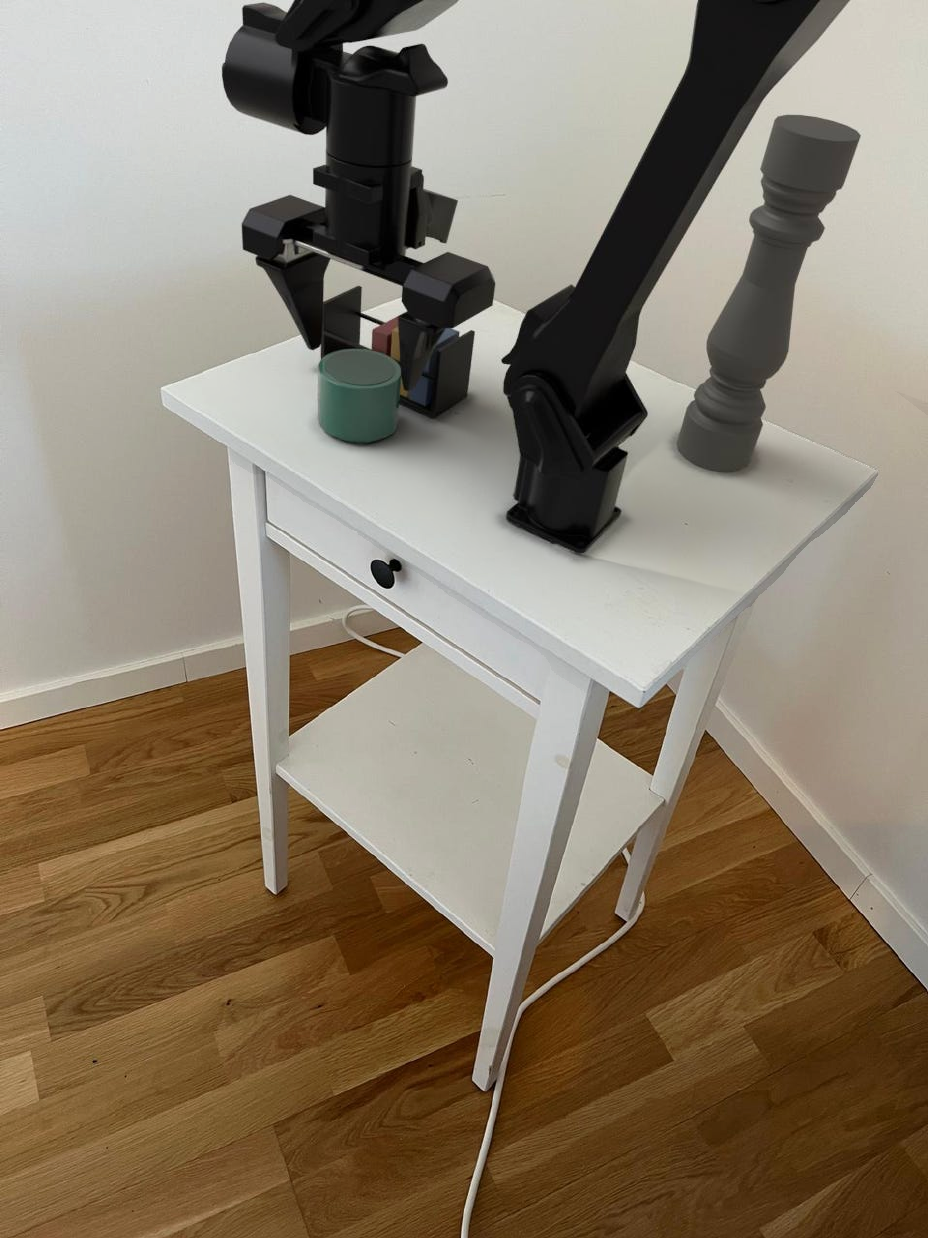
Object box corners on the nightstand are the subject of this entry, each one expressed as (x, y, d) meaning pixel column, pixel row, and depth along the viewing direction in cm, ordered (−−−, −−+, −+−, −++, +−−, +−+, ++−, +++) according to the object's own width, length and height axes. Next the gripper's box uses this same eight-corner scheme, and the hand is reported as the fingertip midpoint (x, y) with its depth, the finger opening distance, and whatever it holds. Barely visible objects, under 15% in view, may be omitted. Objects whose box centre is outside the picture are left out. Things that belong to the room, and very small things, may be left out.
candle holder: (673, 461, 79) (770, 130, 63) (679, 425, 84) (771, 107, 67) (749, 478, 79) (867, 148, 62) (751, 440, 83) (862, 124, 67)
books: (453, 388, 84) (460, 329, 80) (425, 406, 81) (431, 345, 77) (398, 365, 86) (402, 306, 82) (369, 382, 83) (372, 322, 79)
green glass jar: (413, 423, 79) (418, 367, 76) (365, 455, 75) (367, 397, 72) (351, 396, 82) (353, 339, 78) (300, 425, 77) (300, 367, 74)
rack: (467, 396, 84) (475, 330, 80) (433, 419, 80) (440, 351, 76) (356, 349, 88) (358, 284, 84) (319, 369, 85) (320, 302, 81)
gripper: (550, 165, 67) (518, 373, 77) (335, 98, 73) (332, 298, 84) (460, 203, 59) (438, 427, 70) (230, 125, 66) (241, 341, 76)
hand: (361, 368), depth 75 cm, fingers open, 9 cm apart
